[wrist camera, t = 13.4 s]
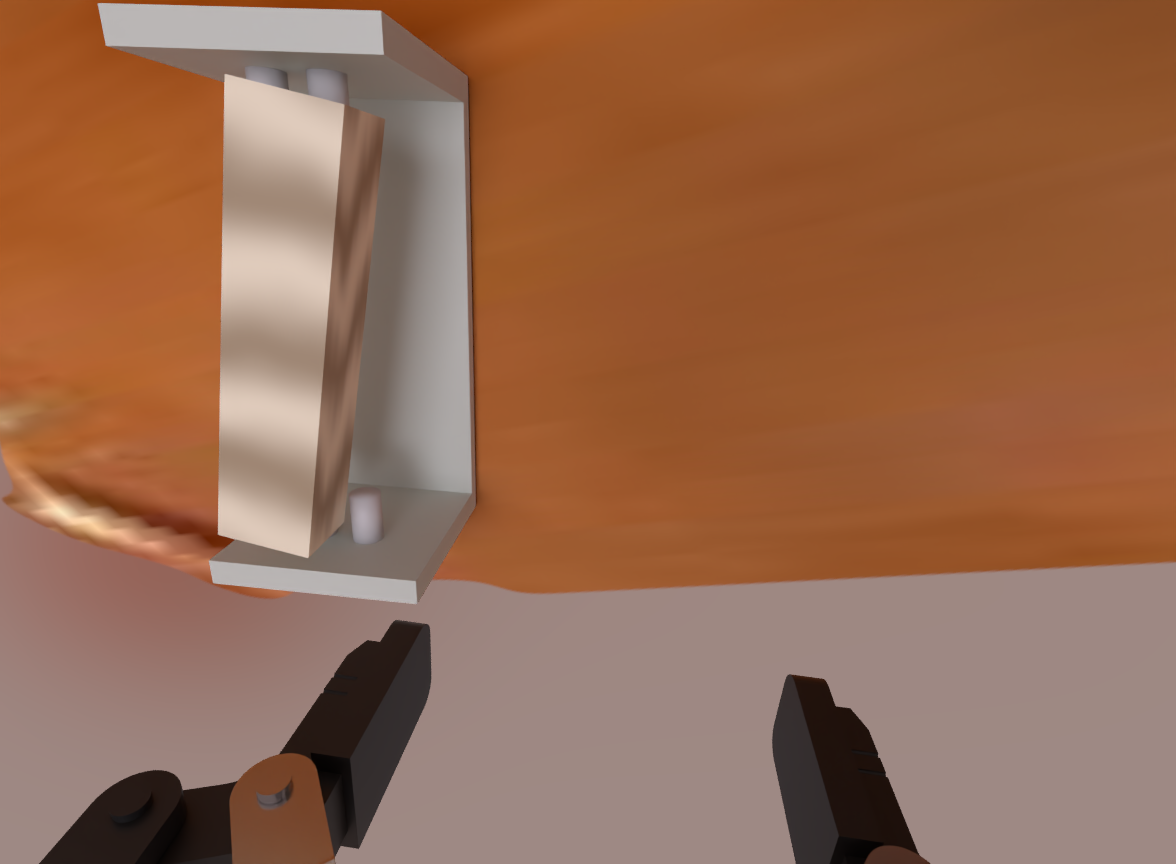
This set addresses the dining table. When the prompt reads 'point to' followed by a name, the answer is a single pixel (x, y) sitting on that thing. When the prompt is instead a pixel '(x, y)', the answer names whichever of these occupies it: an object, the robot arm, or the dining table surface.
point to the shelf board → (292, 309)
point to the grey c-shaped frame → (396, 281)
